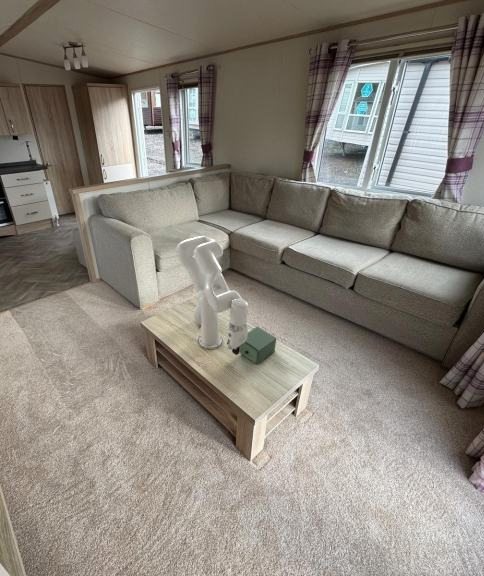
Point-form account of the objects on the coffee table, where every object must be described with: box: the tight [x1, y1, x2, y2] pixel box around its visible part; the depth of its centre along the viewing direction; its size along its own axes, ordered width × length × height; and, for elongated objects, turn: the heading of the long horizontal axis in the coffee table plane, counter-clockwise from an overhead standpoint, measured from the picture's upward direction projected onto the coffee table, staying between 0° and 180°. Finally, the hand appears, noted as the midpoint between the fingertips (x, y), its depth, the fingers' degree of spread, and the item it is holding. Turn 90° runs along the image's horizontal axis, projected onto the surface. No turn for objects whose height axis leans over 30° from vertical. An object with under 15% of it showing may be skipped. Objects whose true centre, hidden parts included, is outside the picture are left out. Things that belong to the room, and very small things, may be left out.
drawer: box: [239, 342, 258, 364], centre depth 154 cm, size 14×11×7 cm
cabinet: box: [245, 326, 277, 365], centre depth 156 cm, size 14×13×9 cm
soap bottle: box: [192, 291, 205, 326], centre depth 173 cm, size 17×12×29 cm
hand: (235, 352), depth 146 cm, fingers closed
